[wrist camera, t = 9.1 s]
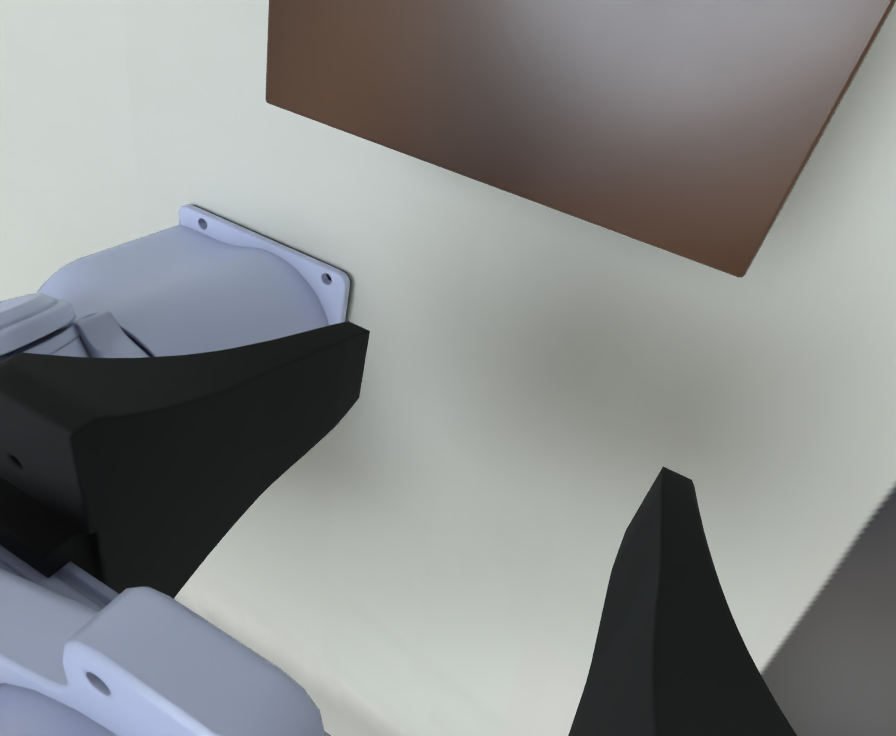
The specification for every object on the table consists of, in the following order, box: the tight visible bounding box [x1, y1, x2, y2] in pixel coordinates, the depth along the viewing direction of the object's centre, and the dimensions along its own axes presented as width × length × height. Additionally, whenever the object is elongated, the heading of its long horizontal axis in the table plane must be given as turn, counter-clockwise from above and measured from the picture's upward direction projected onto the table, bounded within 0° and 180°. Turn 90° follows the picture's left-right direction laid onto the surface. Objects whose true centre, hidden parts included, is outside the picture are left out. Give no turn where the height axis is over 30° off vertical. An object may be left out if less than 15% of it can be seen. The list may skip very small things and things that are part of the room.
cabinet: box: [266, 0, 896, 277], centre depth 15 cm, size 13×8×7 cm, turn 76°
